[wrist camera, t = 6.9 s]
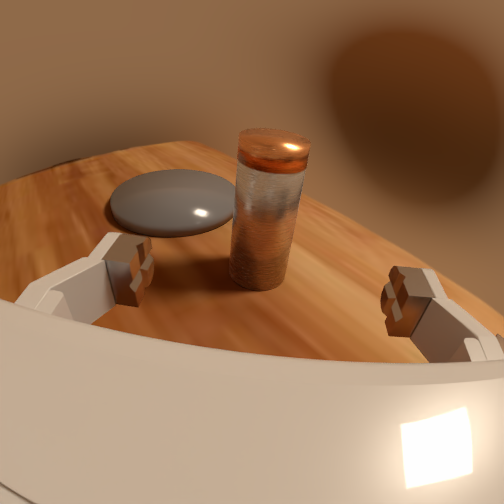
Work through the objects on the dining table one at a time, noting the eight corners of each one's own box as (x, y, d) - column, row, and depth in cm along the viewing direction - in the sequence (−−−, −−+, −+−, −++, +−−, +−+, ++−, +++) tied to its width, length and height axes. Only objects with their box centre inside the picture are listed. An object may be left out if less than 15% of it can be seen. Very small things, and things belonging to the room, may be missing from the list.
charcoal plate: (88, 227, 29) (86, 217, 28) (141, 174, 40) (140, 166, 40) (226, 246, 29) (227, 234, 28) (244, 184, 40) (245, 175, 39)
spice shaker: (224, 286, 24) (234, 142, 18) (232, 251, 28) (243, 125, 22) (284, 294, 24) (313, 153, 18) (285, 258, 28) (308, 134, 22)
